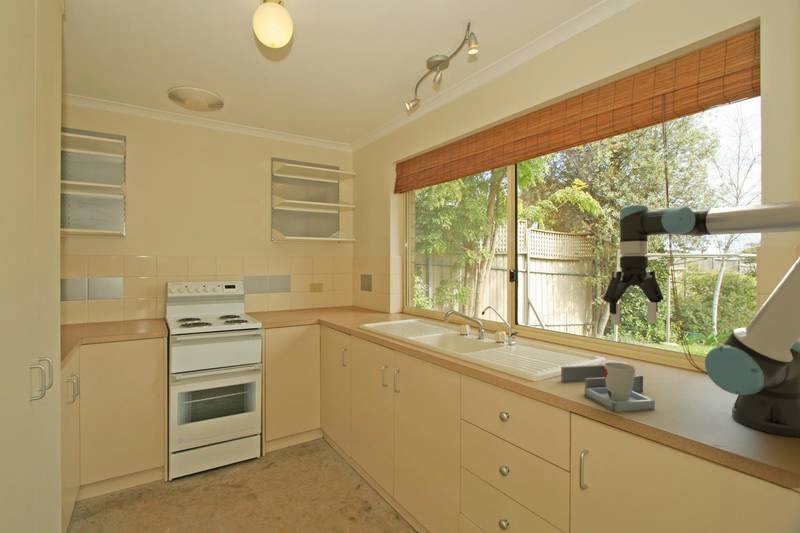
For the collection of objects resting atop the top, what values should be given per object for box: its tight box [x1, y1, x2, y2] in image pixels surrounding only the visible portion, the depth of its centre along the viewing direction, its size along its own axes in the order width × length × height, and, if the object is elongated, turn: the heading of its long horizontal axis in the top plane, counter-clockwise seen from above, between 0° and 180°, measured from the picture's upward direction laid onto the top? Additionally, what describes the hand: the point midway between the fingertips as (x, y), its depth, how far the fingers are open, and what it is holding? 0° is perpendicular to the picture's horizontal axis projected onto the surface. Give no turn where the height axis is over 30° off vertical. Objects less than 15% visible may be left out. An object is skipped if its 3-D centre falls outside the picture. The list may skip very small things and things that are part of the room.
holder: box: [560, 364, 644, 393], centre depth 133 cm, size 14×20×5 cm
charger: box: [598, 359, 630, 365], centre depth 147 cm, size 5×9×15 cm
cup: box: [604, 362, 636, 402], centre depth 117 cm, size 8×8×10 cm
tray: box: [584, 387, 656, 413], centre depth 117 cm, size 13×13×2 cm
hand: (633, 323), depth 122 cm, fingers open, 13 cm apart
